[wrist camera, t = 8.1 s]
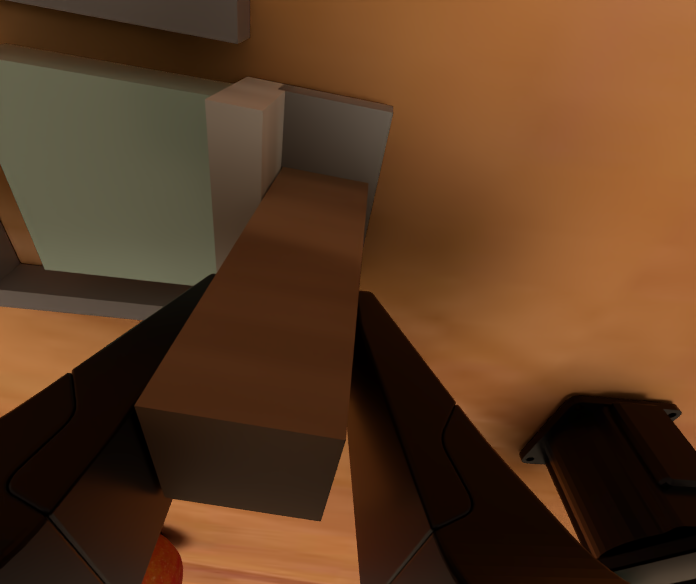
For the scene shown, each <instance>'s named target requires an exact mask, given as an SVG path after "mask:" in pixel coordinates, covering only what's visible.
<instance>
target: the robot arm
mask: <svg viewBox="0 0 696 584" xmlns="http://www.w3.org/2000/svg"><path fill="white" fill-rule="evenodd" d="M215 275H216V274H215V273H213V274H210V275H208V276H207V277H205V278H204V279H202V280H201V281H199V282H198V283H197V284H195V285H194V286H192V287H191V288H189V289H188V290H187V291H185V292H184V293H182V294H181V295H179V296H178V297H176V298H175V299H174V300H172V301H171V302H169V303H168V304H166V305H165V306H163V307H162V308H161V309H159V310H158V311H156V312H155V313H153V314H152V315H151V316H149V317H148V318H146V319H145V320H143V321H142V322H140V323H139V324H138V325H136V326H135V327H133V328H132V329H130V330H129V331H127V332H126V333H125V334H123V335H122V336H120V337H119V338H117V339H116V340H115V341H113V342H112V343H110V344H109V345H107V346H106V347H104V348H103V349H102V350H100V351H99V352H97V353H96V354H94V355H93V356H91V357H90V358H89V359H87V360H86V361H84V362H83V363H81V364H80V365H78V366H77V367H76V368H74V369H73V370H72V374H71V373H67V374H65V375H64V376H62V377H61V378H59V379H58V380H57V381H55V382H54V383H52V384H51V385H49V386H48V387H47V388H45V389H43V390H42V391H40V392H39V393H37V394H36V395H34V396H33V397H31V398H30V399H28V400H27V401H25V402H24V403H22V404H21V405H19V406H18V407H16V408H15V409H13V410H12V411H10V412H9V413H7V414H5V415H4V416H2V417H0V584H142V581H143V578H144V576H145V573H146V570H147V567H148V565H149V562H150V559H151V557H152V554H153V551H154V548H155V546H156V543H157V540H158V537H159V535H160V532H161V529H162V527H163V524H164V521H165V518H166V516H167V513H168V510H169V507H170V505H171V502H172V499H171V498H165V497H164V494H163V491H162V488H161V485H160V482H159V479H158V476H157V473H156V470H155V467H154V464H153V461H152V458H151V455H150V452H149V449H148V446H147V443H146V440H145V437H144V434H143V431H142V428H141V425H140V422H139V419H138V416H137V413H136V410H135V407H134V405H135V404H136V402H137V400H138V399H139V397H140V396H141V394H142V392H143V391H144V389H145V388H146V386H147V384H148V383H149V381H150V380H151V378H152V376H153V375H154V373H155V371H156V370H157V368H158V367H159V365H160V363H161V362H162V360H163V359H164V357H165V355H166V354H167V352H168V351H169V349H170V347H171V346H172V344H173V343H174V341H175V339H176V338H177V336H178V334H179V333H180V331H181V330H182V328H183V326H184V325H185V323H186V322H187V320H188V318H189V317H190V315H191V314H192V312H193V310H194V309H195V307H196V306H197V304H198V302H199V301H200V299H201V298H202V296H203V294H204V293H205V291H206V289H207V288H208V286H209V285H210V283H211V281H212V280H213V278H214V277H215ZM455 404H456V402H455V400H454V399H453V398H452V396H451V395H450V394H449V392H448V391H447V390H446V388H445V387H444V386H443V385H442V383H441V382H440V381H439V379H438V378H437V377H436V375H435V374H434V373H433V371H432V370H431V369H430V368H429V366H428V365H427V364H426V362H425V361H424V360H423V358H422V357H421V356H420V355H419V353H418V352H417V351H416V349H415V348H414V347H413V345H412V344H411V343H410V341H409V340H408V339H407V338H406V336H405V335H404V334H403V332H402V331H401V330H400V328H399V327H398V326H397V325H396V323H395V322H394V321H393V319H392V318H391V317H390V315H389V314H388V313H387V311H386V310H385V309H384V308H383V306H382V305H381V304H380V302H379V301H378V300H377V298H376V297H375V296H374V294H373V293H371V292H368V291H360V290H359V296H358V307H357V319H356V330H355V341H354V352H353V364H352V375H351V386H350V397H349V408H348V420H347V432H348V444H349V456H350V468H351V480H352V491H353V503H354V515H355V527H356V539H357V550H358V562H359V574H360V584H696V451H695V449H694V448H693V447H692V445H691V444H690V443H689V442H688V440H687V439H686V438H685V436H684V435H683V434H682V433H681V431H680V430H679V429H678V428H677V426H676V425H675V424H674V422H673V421H674V420H675V419H677V418H678V417H679V416H680V415H681V413H682V412H681V411H680V410H679V408H678V407H677V406H676V405H675V404H669V403H658V402H647V401H635V400H624V399H612V398H601V397H589V396H574V397H571V398H569V399H568V400H567V401H566V402H565V403H564V404H563V405H562V406H561V407H560V408H559V409H558V411H557V412H556V413H555V414H554V415H553V416H552V417H551V418H550V420H549V421H548V422H547V423H546V424H545V425H544V426H543V427H542V428H541V430H540V431H539V432H538V433H537V434H536V435H535V436H534V437H533V439H532V440H531V441H530V442H529V443H528V444H527V445H526V446H525V448H524V449H523V450H522V451H521V452H520V454H519V455H520V458H521V460H522V462H523V463H530V464H546V466H547V469H548V471H549V473H550V475H551V478H552V480H553V482H554V485H555V487H556V489H557V491H558V494H559V496H560V498H561V500H562V503H563V505H564V507H565V509H566V512H567V514H568V516H569V518H570V521H571V523H572V525H573V528H574V530H575V532H576V534H577V537H578V539H579V541H580V543H581V544H580V543H579V542H578V541H577V540H576V539H575V538H574V537H573V536H572V535H571V534H570V533H569V531H568V530H567V529H566V528H565V527H564V526H563V525H562V524H561V523H560V522H559V521H558V519H557V518H556V517H555V516H554V515H553V514H552V513H551V512H550V511H549V510H548V509H547V507H546V506H545V505H544V504H543V503H542V502H541V501H540V500H539V499H538V498H537V497H536V495H535V494H534V493H533V492H532V491H531V490H530V489H529V488H528V487H527V486H526V485H525V484H524V482H523V481H522V480H521V479H520V478H519V477H518V476H517V475H516V474H515V473H514V472H513V470H512V469H511V468H510V467H509V466H508V465H507V464H506V462H505V461H504V460H503V459H502V458H501V457H500V456H499V455H498V453H497V452H496V451H495V450H494V449H493V448H492V447H491V445H490V444H489V443H488V442H487V441H486V439H485V438H484V437H483V436H482V434H481V433H480V432H479V431H478V429H477V428H476V427H475V426H474V425H473V423H472V422H471V421H470V420H469V418H468V417H467V416H466V414H465V413H464V412H463V410H462V409H461V408H460V406H459V405H455Z"/></svg>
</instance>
